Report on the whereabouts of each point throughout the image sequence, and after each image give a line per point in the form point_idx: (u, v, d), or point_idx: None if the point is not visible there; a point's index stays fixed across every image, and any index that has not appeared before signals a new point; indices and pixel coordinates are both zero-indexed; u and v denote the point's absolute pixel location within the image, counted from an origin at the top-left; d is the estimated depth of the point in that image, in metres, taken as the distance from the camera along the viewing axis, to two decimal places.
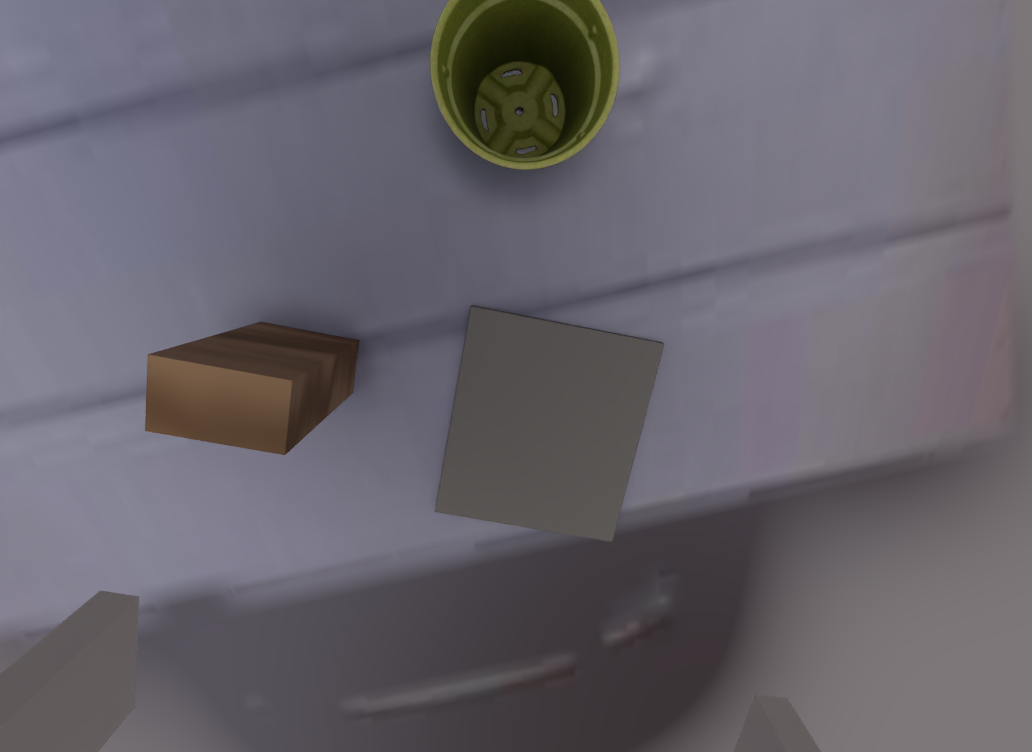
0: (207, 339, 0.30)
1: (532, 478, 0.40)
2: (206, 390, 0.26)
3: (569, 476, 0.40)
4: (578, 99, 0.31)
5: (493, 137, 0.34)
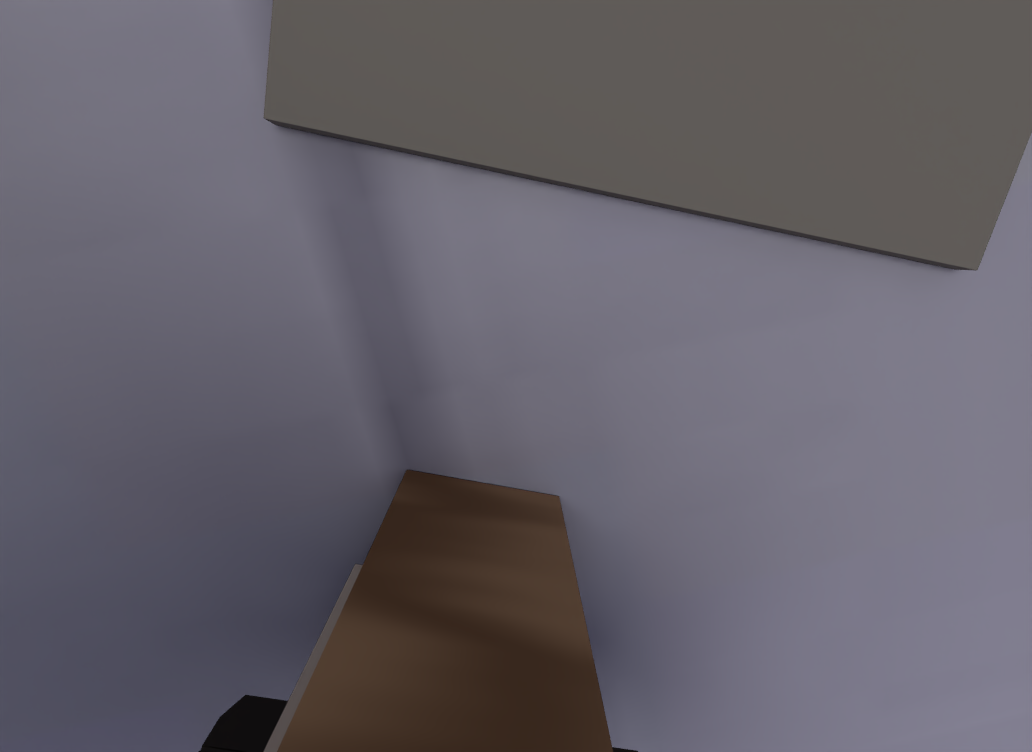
0: None
1: None
2: None
3: None
4: None
5: None
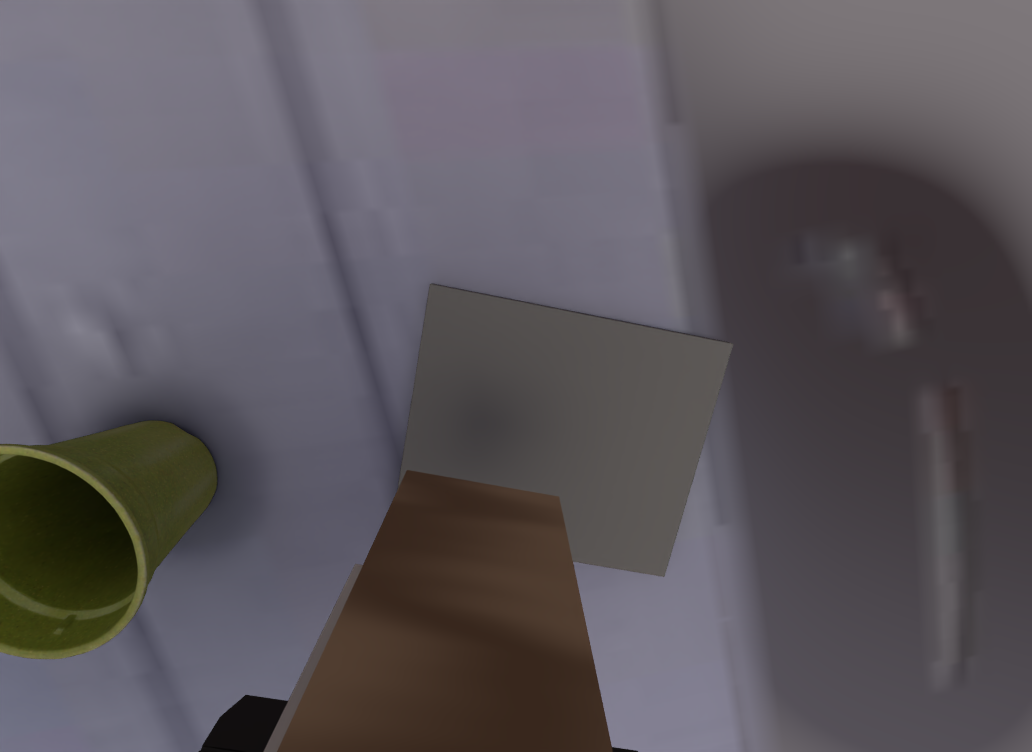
0: None
1: (624, 457, 0.29)
2: None
3: (624, 408, 0.28)
4: None
5: None
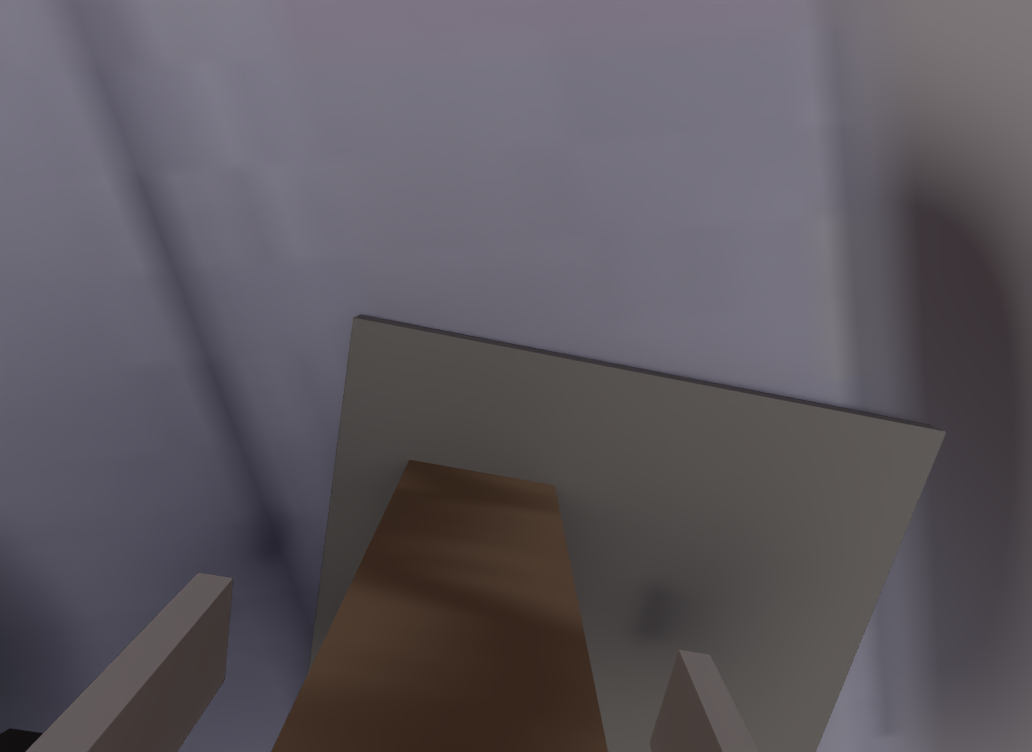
0: None
1: (724, 633, 0.15)
2: None
3: (729, 548, 0.15)
4: None
5: None
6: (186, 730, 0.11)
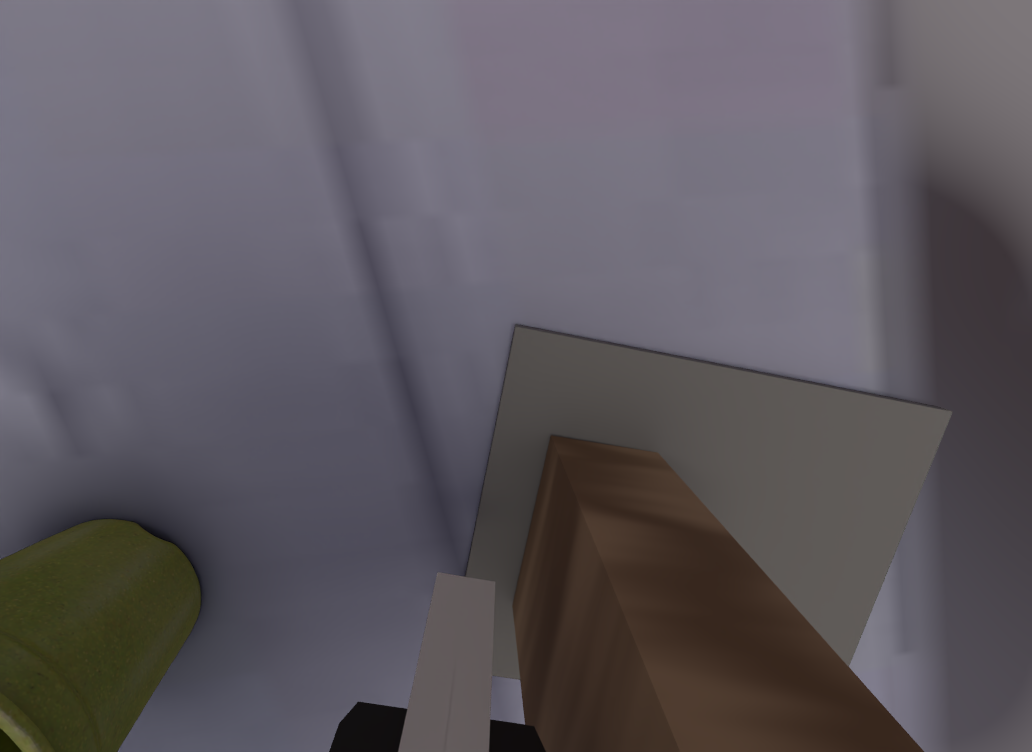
0: None
1: (782, 568, 0.20)
2: None
3: (788, 501, 0.19)
4: None
5: None
6: None
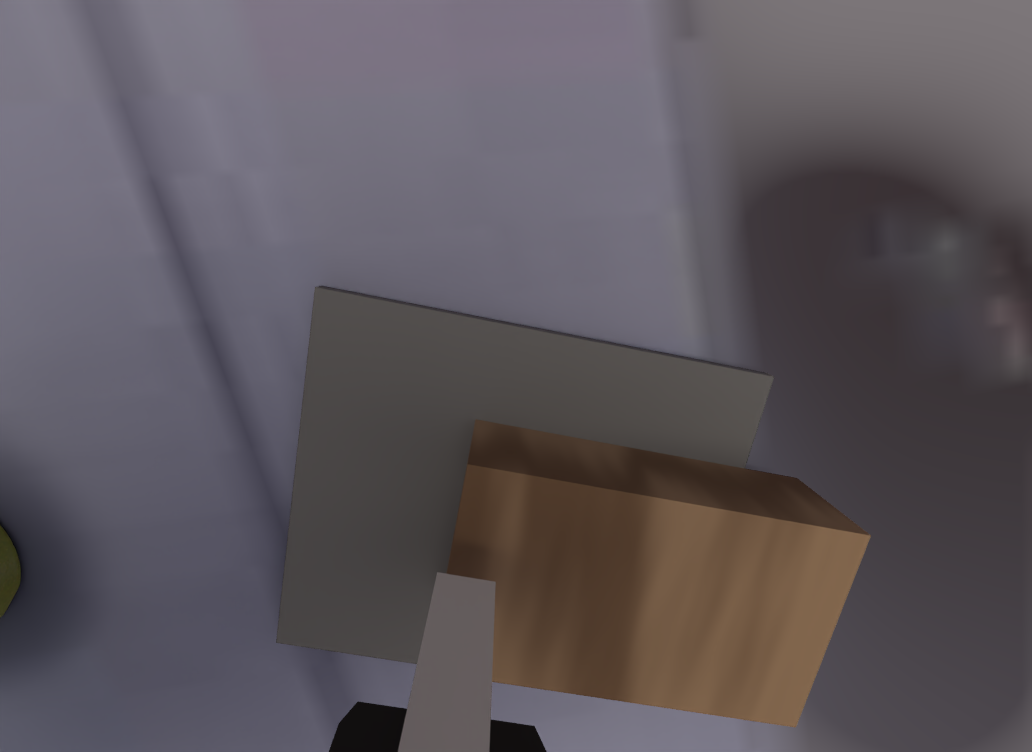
0: (655, 699, 0.17)
1: None
2: None
3: None
4: None
5: None
6: None
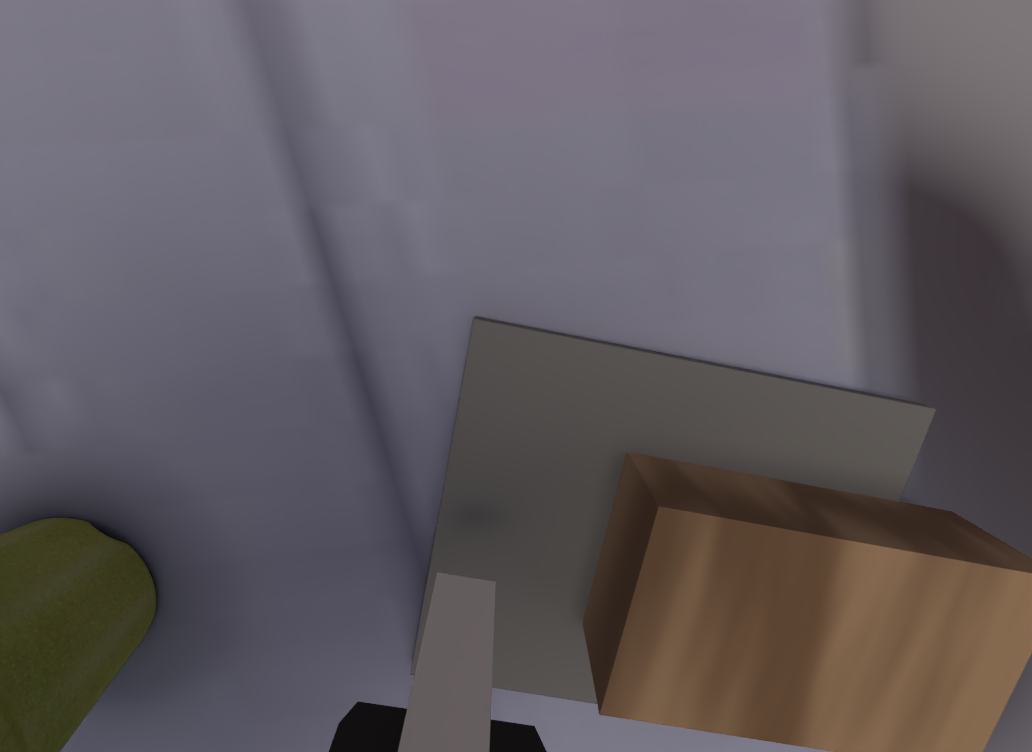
0: (830, 743, 0.16)
1: None
2: None
3: None
4: None
5: None
6: None
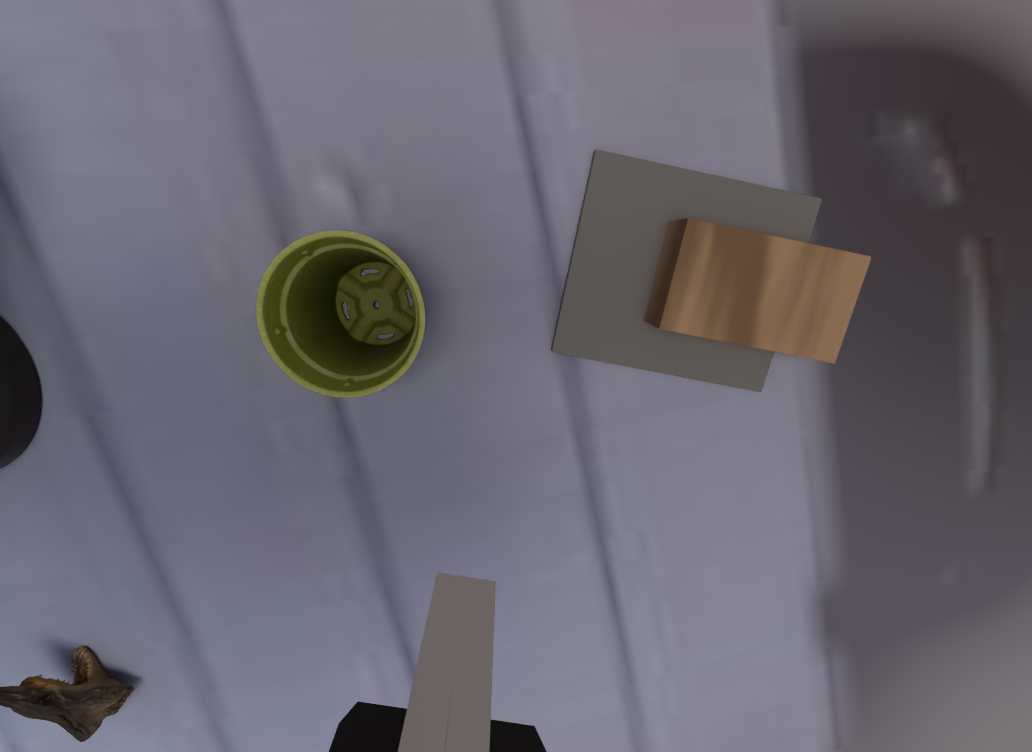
0: (767, 346, 0.34)
1: None
2: None
3: None
4: (363, 255, 0.33)
5: (399, 328, 0.38)
6: None
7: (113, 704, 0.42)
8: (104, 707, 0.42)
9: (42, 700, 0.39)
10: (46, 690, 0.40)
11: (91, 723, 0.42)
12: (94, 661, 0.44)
